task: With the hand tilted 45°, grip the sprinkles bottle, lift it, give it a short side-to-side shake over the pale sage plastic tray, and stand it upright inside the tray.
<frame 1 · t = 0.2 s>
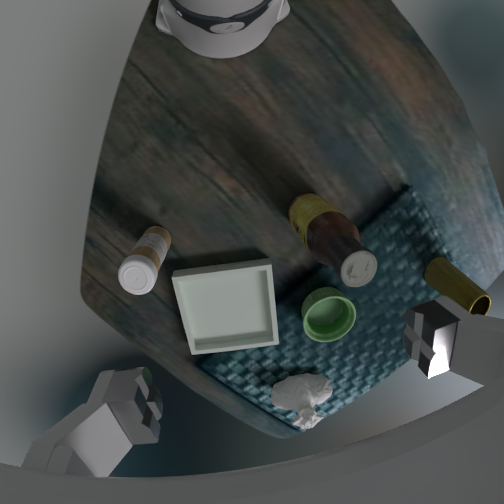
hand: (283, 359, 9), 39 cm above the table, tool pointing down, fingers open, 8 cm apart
duck figurine: (298, 383, 62), on the table
ramekin: (323, 305, 55), on the table
sprinkles bottle: (157, 238, 48), on the table
sauce bottle: (307, 211, 48), on the table
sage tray: (228, 305, 53), on the table
vase: (436, 270, 54), on the table
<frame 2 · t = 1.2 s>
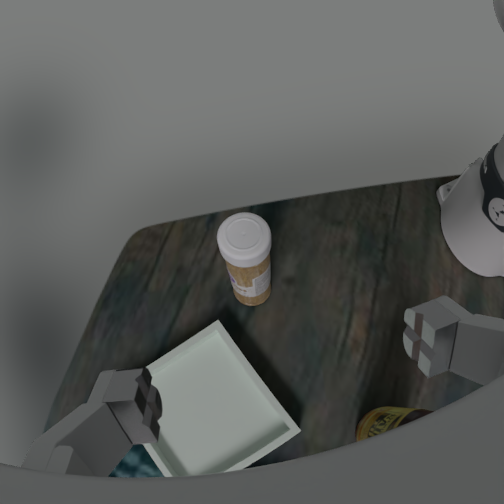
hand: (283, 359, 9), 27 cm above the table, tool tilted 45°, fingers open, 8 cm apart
sprinkles bottle: (252, 289, 39), on the table
sauce bottle: (377, 433, 30), on the table
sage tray: (204, 413, 33), on the table
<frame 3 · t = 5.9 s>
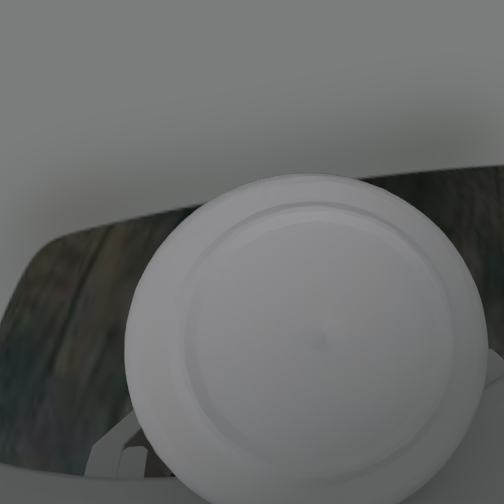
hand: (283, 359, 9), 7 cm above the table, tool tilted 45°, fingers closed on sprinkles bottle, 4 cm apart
sprinkles bottle: (280, 390, 15), on the table, touching gripper
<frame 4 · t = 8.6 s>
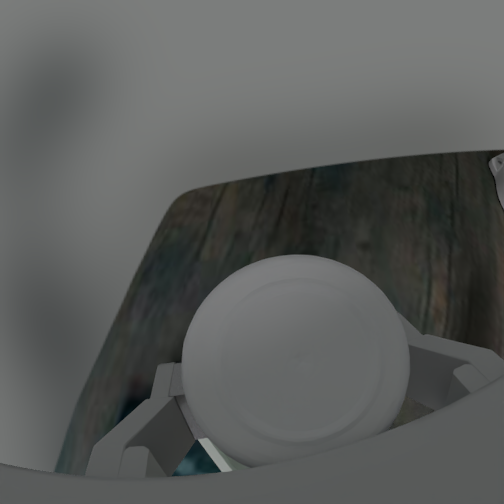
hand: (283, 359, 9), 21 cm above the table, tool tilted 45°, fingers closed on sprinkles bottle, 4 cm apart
sprinkles bottle: (278, 394, 18), point 11 cm above the table, touching gripper
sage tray: (277, 403, 27), on the table
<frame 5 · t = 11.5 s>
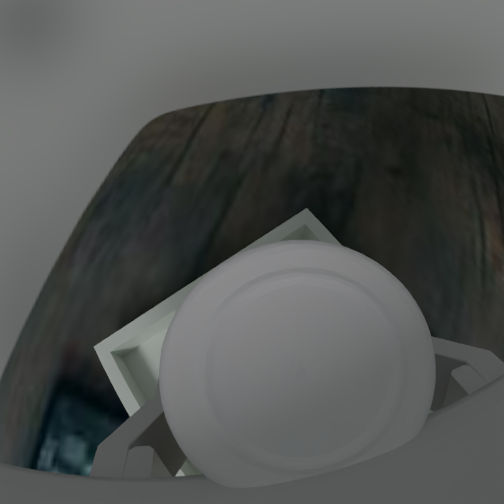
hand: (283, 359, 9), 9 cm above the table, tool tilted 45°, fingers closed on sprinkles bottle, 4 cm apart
sprinkles bottle: (280, 395, 17), point 1 cm above the table, touching gripper, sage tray
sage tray: (281, 391, 17), on the table
when the fingers open (9 cm above the table, at t = 11.8 s): sprinkles bottle stays where it is, resting on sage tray.
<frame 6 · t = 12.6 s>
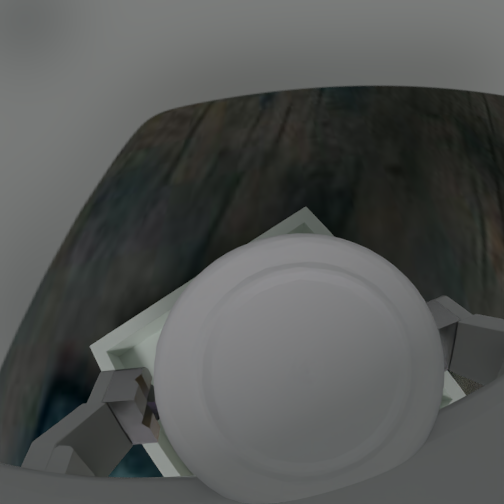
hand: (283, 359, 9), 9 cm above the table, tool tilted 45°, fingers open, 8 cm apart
sprinkles bottle: (279, 396, 16), point 1 cm above the table, touching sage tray
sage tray: (279, 391, 17), on the table
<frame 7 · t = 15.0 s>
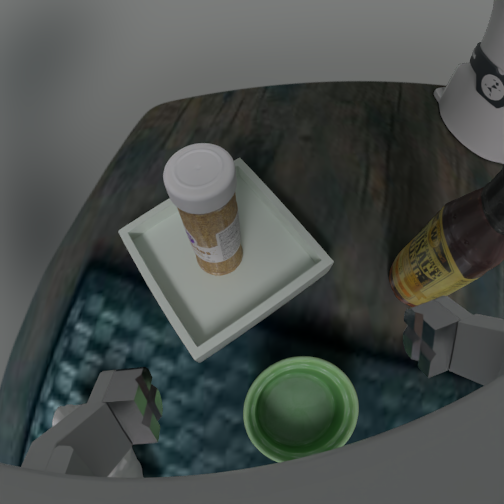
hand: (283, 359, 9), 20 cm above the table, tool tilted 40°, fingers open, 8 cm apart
duck figurine: (109, 460, 24), on the table
ramekin: (295, 408, 27), on the table
sprinkles bottle: (220, 256, 32), point 1 cm above the table, touching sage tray
sauce bottle: (411, 283, 31), on the table
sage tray: (221, 256, 32), on the table
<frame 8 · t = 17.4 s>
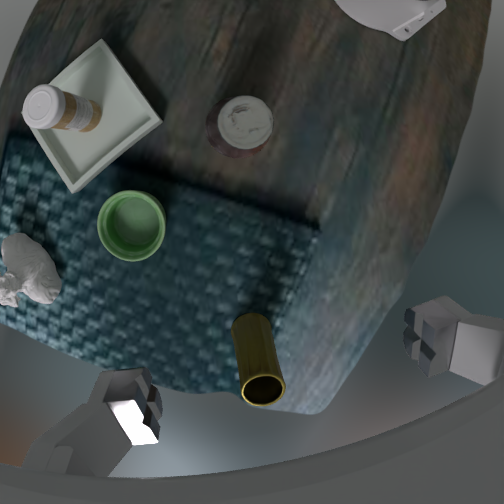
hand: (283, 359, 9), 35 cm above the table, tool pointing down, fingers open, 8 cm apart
duck figurine: (38, 263, 42), on the table
ramekin: (138, 219, 42), on the table
sprinkles bottle: (88, 116, 37), point 1 cm above the table, touching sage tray
sauce bottle: (232, 132, 40), on the table
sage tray: (90, 115, 37), on the table
vase: (250, 329, 49), on the table
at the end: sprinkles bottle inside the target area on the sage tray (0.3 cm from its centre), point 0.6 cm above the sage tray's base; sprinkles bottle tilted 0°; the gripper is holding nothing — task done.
